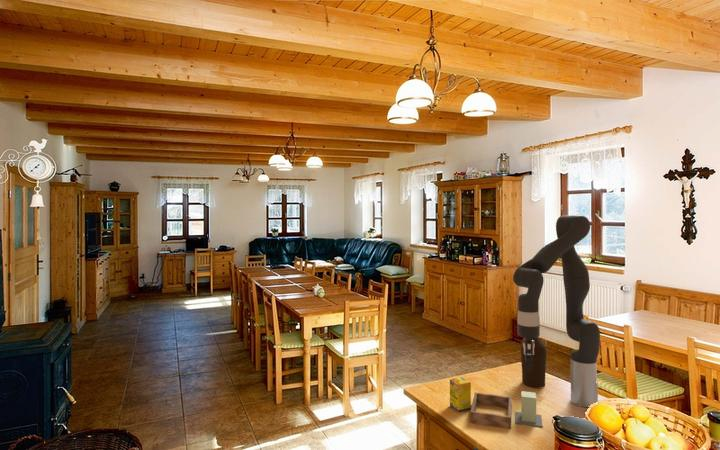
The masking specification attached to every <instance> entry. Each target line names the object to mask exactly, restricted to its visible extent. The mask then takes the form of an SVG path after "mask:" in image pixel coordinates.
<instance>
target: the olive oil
mask: <svg viewBox="0 0 720 450" xmlns="http://www.w3.org/2000/svg"><path fill="white" fill-rule="evenodd" d="M532 340H534V343H535V346H534V355H533V361H532V371H526V362H525V354H524V347H523V342H522V344H521V347H520V358H521V377H522V378H521V380H522V381H521V382H522V384H523V385H524V386H526V387H529V388H534V389H541V388H544V387H545V386H546V373H547V372H546V369H547V353H548V351H547V347H546V345H545V343H544V342H543V341H542V340H541V339H540V338H539V337H537V338H532Z"/></svg>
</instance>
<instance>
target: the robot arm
mask: <svg viewBox="0 0 720 450" xmlns="http://www.w3.org/2000/svg"><path fill="white" fill-rule="evenodd" d="M590 230H591V222H590V220H589V218H588V217H587V216H585V215H579V214H573V215H572V214H571V215H569V214H568V215H560V216H559V217H558V218H557V220H556V223H555V231H556V237H557V238H556V239H554V240H553V241H551V242H549V243H548V244H546V245H544V246H543V247H541V248H540V250H538V252H537V253H536V254H535V255H534V256H533V257H532V258H531V259H528V260H527V261H526V262H525V263H523V264H521V265H520V266H519V267H517V268H516V269H515V270H514V273H513V276H512V280H513V283H514V284H515V285H516V286H518V287H520V288H527V292H526V293H521V294H519V295H518V296H517V297H518V298H517V309H518V310H517V335H518V336H519V337H521V338H524V339H522V343H523V347H524V354H525V362H526V371H532V361H533V355H534V346H535V343H534V340H532V338H537V337H538V338H539V337H540V335H541V333H540V331H541V328H540V322H541V321H540V313H539V312H540V311H539V309H540V305H539V302H540V301H539V300H540V297H541V293H542V290H543V285H544V276H543V274H545V273H547V272H549V271H550V269H551V268H552V267H553V266H554V265H555V263H557V261H559V259H560V258H561V266H562V279H563V285H564V286H563V288H564V295H565V312H566V313H565V322H566V323H565V327H566V333H567V337H569V339H571V340H572V341H575V342H578V343H579V344H578V346H579V347H578V349H574V350H572V351H571V352H570V402H571V403H572V404H574V405H576V406H578V407H583V408H589V407H588V406H590V405H591V404H593V403H596V402H598V399H599V394H598V393H599V392H598V391H599V384H598V381H597V380H598V377H597V376H598V375H597V374H598V371H597V370H598V364H597V363H598V356H599V355H600V354H599V353H600V344H601V342H600V341H601V332H600V328H599V326H598V324H596V323H595V322H593V321H590V320H588V319H585V318H584V313H583V311H584V310H583V307H584V303H585V300H586V297H587V296H588V294H589V291H590V289H591V288H590V286H591V285H590V284H591V283H590V273H589V269H588V267H587V266H586V264H585V262H584V261H583V259H582V258H581V257H580V256H579V254H578V252H577V250H576V248H575V246H576V245H577V244H579V242H581V241H583V240H584V239H585V238H586V237H587V236H588V234H589V233H590ZM598 403H599V402H598Z"/></svg>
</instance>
